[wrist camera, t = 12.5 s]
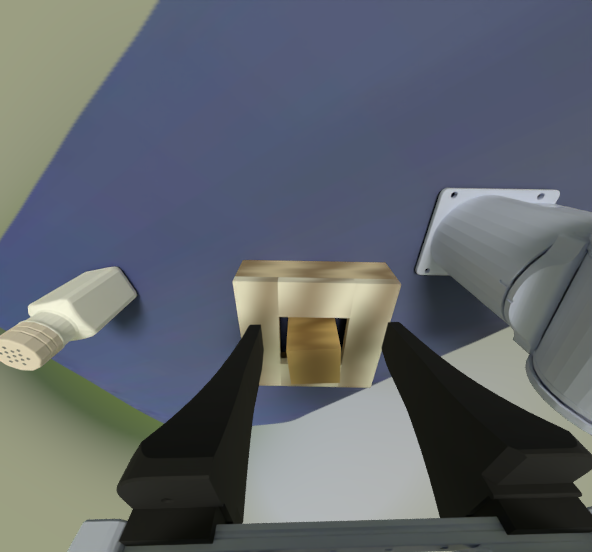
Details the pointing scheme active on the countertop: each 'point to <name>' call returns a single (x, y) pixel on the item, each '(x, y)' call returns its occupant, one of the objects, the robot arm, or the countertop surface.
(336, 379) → the ochre peg
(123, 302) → the pepper shaker
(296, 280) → the posting box
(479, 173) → the countertop surface
